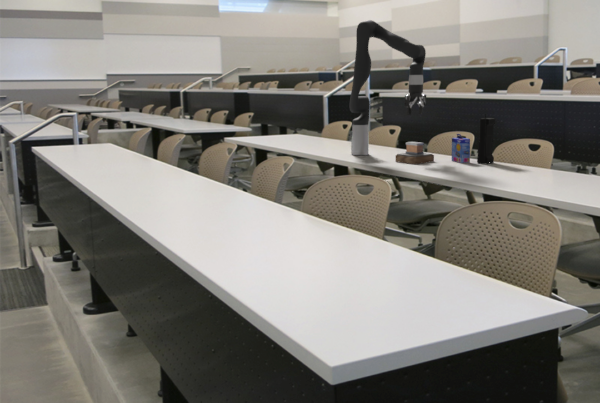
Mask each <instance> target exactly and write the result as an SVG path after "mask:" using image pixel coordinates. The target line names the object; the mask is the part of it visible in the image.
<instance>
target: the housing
mask: <svg viewBox="0 0 600 403" xmlns="http://www.w3.org/2000/svg"><path fill="white" fill-rule="evenodd" d="M424 144H425V142H418V141H407V142H405V146H406V151H405V153H406V154H412V155H421V154H424V153H425V151H423V150H424V146H425V145H424Z"/></svg>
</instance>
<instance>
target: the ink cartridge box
mask: <svg viewBox="0 0 600 403" xmlns="http://www.w3.org/2000/svg"><path fill="white" fill-rule="evenodd" d="M456 136H457V137H452V138H451V162H456V163H460V164H464V163H465V164H466V163H470V162H471V140H470V138H467V137H463V135H462V134H461V133H456Z"/></svg>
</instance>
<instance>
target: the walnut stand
mask: <svg viewBox="0 0 600 403" xmlns="http://www.w3.org/2000/svg"><path fill="white" fill-rule="evenodd" d="M395 162H396V163H405V164H412V165H420V164H425V163H426V162H427V163H433V162H435V155H434V154H433V153H427V152H424V154H421V155H412V154H406V152H401V153H397V154H396V155H395Z"/></svg>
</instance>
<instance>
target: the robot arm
mask: <svg viewBox="0 0 600 403" xmlns="http://www.w3.org/2000/svg"><path fill="white" fill-rule="evenodd" d="M371 38H375V39H379V40H380V41H383V42H384V43H385V44H386V45H387V46H388V47H390V48H391V49H394V50H396V51H398V52H400V53H402V54H404V55H406V56H407V57H408V58H410V59H412V62H411V64H410V65H409V72H408V73H409V76H408V94H409V95H408V94H407V95H406V94H405V95H404V103H403V104H404V106H403V107H405V108H406V114H407V116H412V111H413V110H412V107H413V105H415V104H417V105H418V114H419V115H423V113H424V107H426V106H427V94H426V93H425V94H423V93H424V64H425V60H426V54H427V52H426V48H425V47H424V45H422V44H415V43H412V42H410V40H408V39H407V38H405V37H402V36H400V35H398V34H396V33H393V32H392V31H390V30H388V29H386V28H384V27H383V26H382V25H380V24H379V23H377V22H376V21H374V20H371V19H369V20H363V21H361V22H359V23H358V25H357V28H356V46H355V47H356V48H355V57H354V58H355V60H354V66H353V78H352V87H351V92H350V97H349V98H350V99H349V111H350V112H351V113H352V114H353V113H354V114H358V113H360V115H359V116H358V117H355V118H354V119H352V127H351V128H352V132H351V133H352V137H351V138H350V139H351V142H350V143H351V145H350V147H351V148H350V149H351V152H350V153H351V155H352V156H353V155H354V156H367V155H369V148H370V147H369V146H370V145H369V142H370V141H369V132H370V131H369V122H370V108H371V103H370V98H369V97H368V96H366V95H360V92H361V90H362V88H363V86H364V85H365V84H366V82H367V80H368V79H369V78H370V76H371V72H372V59H371V55H370V52H369V51H370V50H369V44H370V39H371Z"/></svg>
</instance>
